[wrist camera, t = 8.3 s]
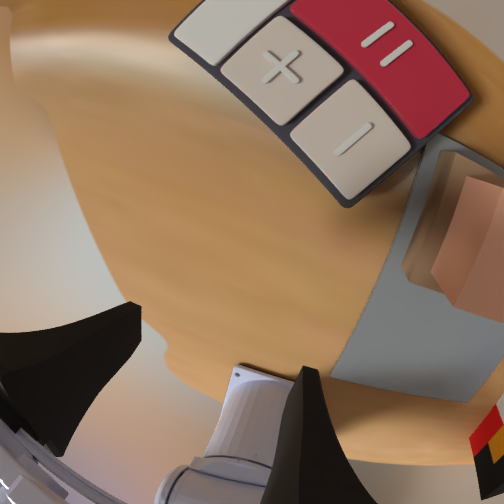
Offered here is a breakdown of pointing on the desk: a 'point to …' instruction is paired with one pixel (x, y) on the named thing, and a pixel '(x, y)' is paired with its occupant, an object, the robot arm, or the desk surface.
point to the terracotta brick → (475, 252)
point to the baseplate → (420, 318)
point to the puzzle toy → (490, 452)
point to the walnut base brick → (440, 214)
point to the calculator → (330, 81)
